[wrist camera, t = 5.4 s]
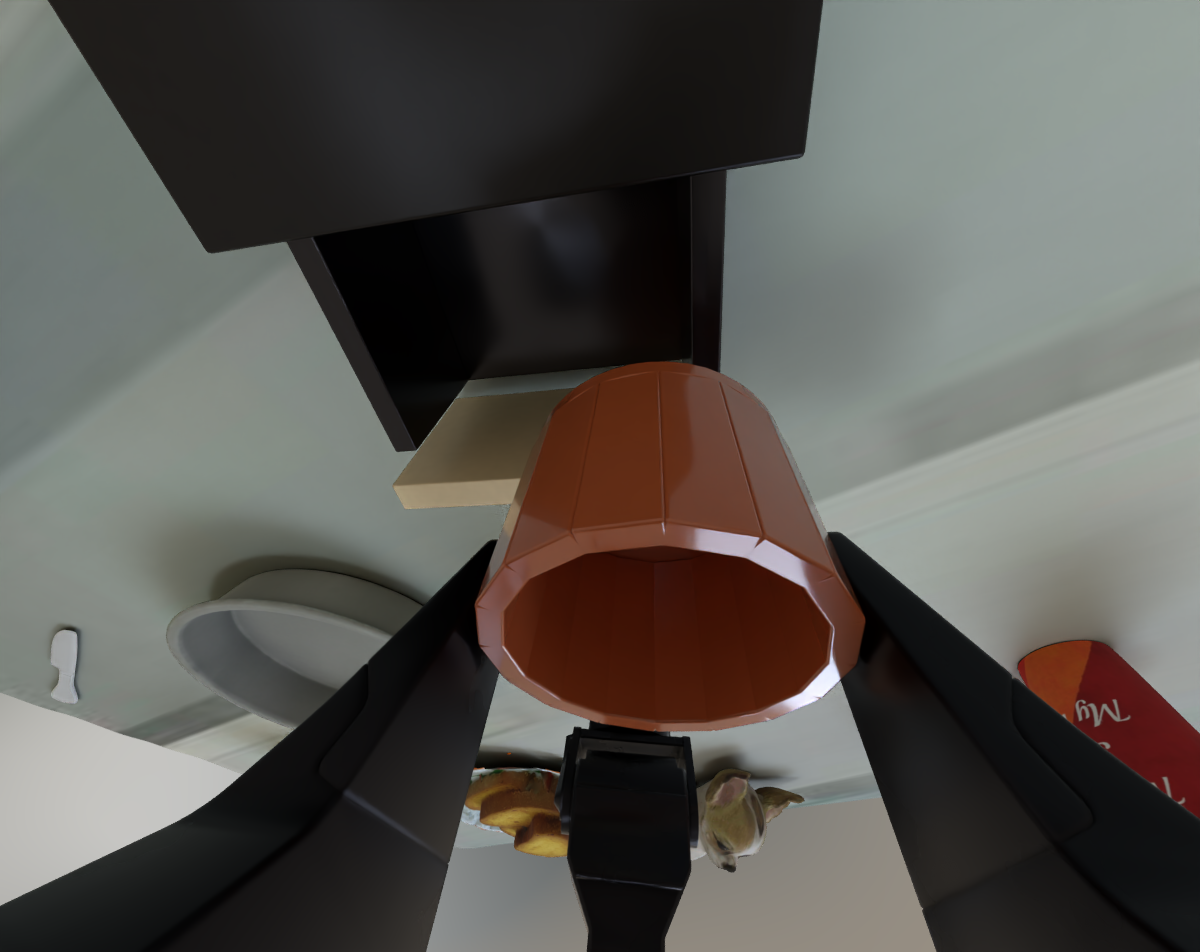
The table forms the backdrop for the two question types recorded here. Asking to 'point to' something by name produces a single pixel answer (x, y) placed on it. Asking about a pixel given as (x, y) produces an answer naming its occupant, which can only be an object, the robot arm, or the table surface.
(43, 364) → the table surface
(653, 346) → the drawer
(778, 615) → the ramekin
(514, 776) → the food on plate
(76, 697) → the butter knife
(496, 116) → the black rectangular box
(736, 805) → the ceramic sculpture
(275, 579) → the cake pan
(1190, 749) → the paper cup
